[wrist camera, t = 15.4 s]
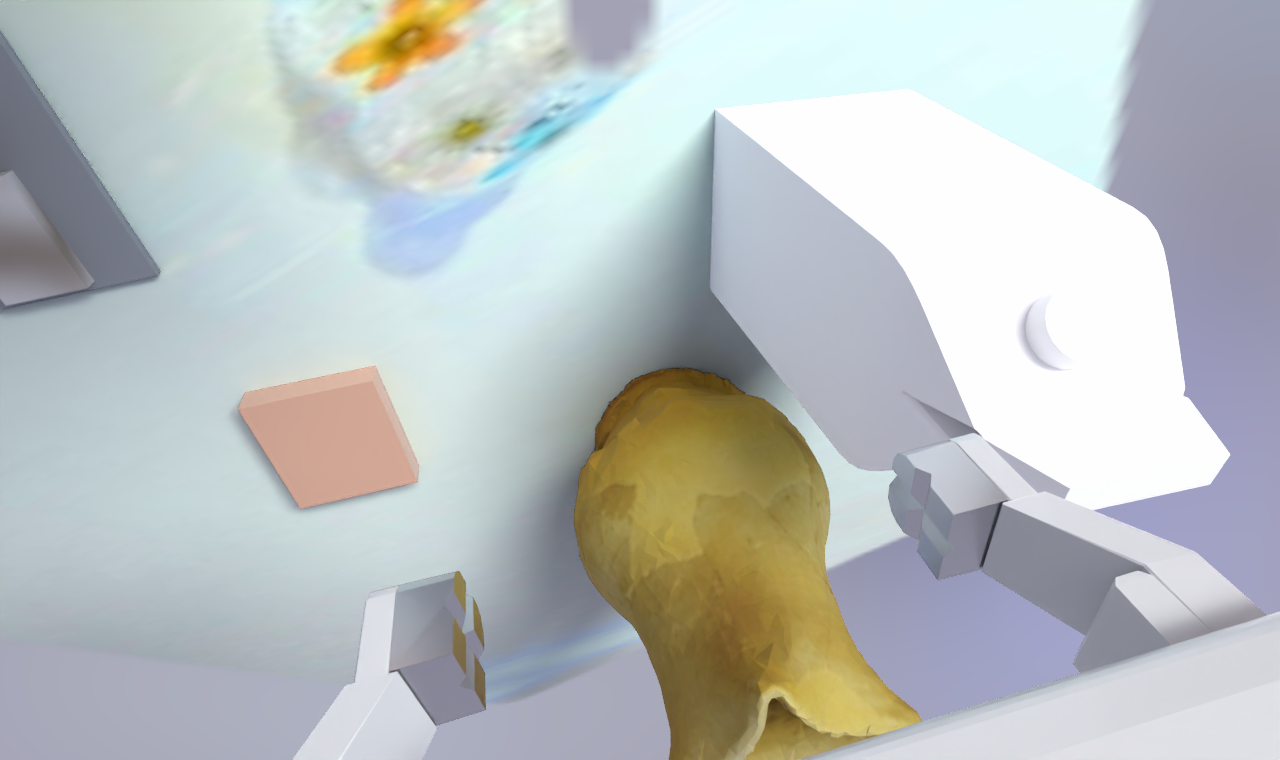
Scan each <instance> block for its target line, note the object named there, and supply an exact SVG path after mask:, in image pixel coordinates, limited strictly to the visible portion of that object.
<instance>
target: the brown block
mask: <svg viewBox="0 0 1280 760" xmlns="http://www.w3.org/2000/svg"><path fill="white" fill-rule="evenodd" d="M93 282H94V280H93V278H92V277H91V276H90V274H89V273H88V272H87V270H86V269H85V267H84V266H83V265H82V263H81V262H80V261H79V259H78V258H77V257H76V255H75V254H74V253H73V251H72V250H71V249H70V247H69V246H68V244H67V243H66V242H65V240H64V239H63V238H62V236H61V235H60V234H59V232H58V231H57V230H56V228H55V227H54V226H53V224H52V223H51V221H50V220H49V219H48V217H47V216H46V215H45V213H44V212H43V211H42V209H41V208H40V207H39V205H38V204H37V203H36V201H35V200H34V198H33V197H32V196H31V194H30V193H29V192H28V190H27V189H26V188H25V186H24V185H23V184H22V182H21V181H20V179H19V178H18V177H17V175H16V174H15V173H14V171H13V170H10V171H5V172H1V171H0V299H1V300H2V302H3V303H4V304H5V305H6V306H7V305H12V304H17V303H21V302H26V301H31V300H35V299H40V298H45V297H49V296H54V295H59V294H64V293H68V292H73V291H78V290H82V289H87V288H89V287H90V286H91V284H92V283H93Z"/></svg>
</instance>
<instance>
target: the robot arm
mask: <svg viewBox="0 0 1280 760" xmlns="http://www.w3.org/2000/svg"><path fill="white" fill-rule="evenodd" d="M892 469H893V470H894V472H895V473H896V474H897V477H896V478H895V479H894V480H893V481H892V482H891V484H890V485H889V494H888V499H889V503H890V507H891V512H892V514H893V516H894V518H895V520H896V522H897V523H898V525H899V526H900V528H901V529H902V531H903V532H904V533H905V534H907V535H909V536H911V537H914V538H915V539H917V540H918V548H917V552H918V554H919V555H920V556H921V558H922V559H923V561H924V562H925V563H926V565H927V566H928V568H929V569H930V570H931V572H932V573H933V574H934V576H935V577H936V579H937V580H941V579H946V578H949V577H953V576H957V575H961V574H965V573H969V572H973V571H977V570H981V569H982V572H983V573H985V574H986V575H988V576H989V577H991V578H993V579H995V580H996V581H997V582H999V583H1001V584H1002V585H1004V586H1006V587H1007V588H1009V589H1010V590H1012V591H1014V592H1015V593H1017V594H1018V595H1020V596H1022V597H1023V598H1025V599H1027V600H1028V601H1030V602H1032V603H1033V604H1035V605H1036V606H1038V607H1040V608H1041V609H1043V610H1044V611H1046V612H1048V613H1049V614H1051V615H1053V616H1054V617H1056V618H1058V619H1059V620H1061V621H1062V622H1064V623H1066V624H1067V625H1069V626H1070V627H1072V628H1074V629H1075V630H1077V631H1079V632H1080V633H1082V634H1083V635H1085V638H1084V640H1083V642H1082V644H1081V645H1080V647H1079V649H1078V651H1077V653H1076V655H1075V659H1074V663H1073V664H1074V665H1075V667H1076V668H1077V669H1078V671H1079V672H1080V673H1079V674H1076V675H1073V676H1069V677H1066V678H1063V679H1059V680H1056V681H1053V682H1049V683H1046V684H1043V685H1040V686H1036V687H1033V688H1030V689H1027V690H1024V691H1020V692H1017V693H1014V694H1011V695H1007V696H1004V697H1001V698H997V699H994V700H991V701H988V702H984V703H981V704H978V705H975V706H971V707H968V708H965V709H962V710H958V711H955V712H952V713H949V714H945V715H942V716H939V717H936V718H932V719H929V720H926V721H922V722H919V723H916V724H913V725H909V726H906V727H903V728H900V729H896V730H893V731H890V732H887V733H883V734H880V735H877V736H874V737H870V738H867V739H864V740H861V741H857V742H854V743H851V744H848V745H844V746H841V747H838V748H835V749H831V750H828V751H825V752H822V753H818V754H815V755H812V756H809V757H805V758H802V759H799V760H1280V612H1277V613H1274V614H1271V615H1266V614H1265V613H1264V612H1263V611H1262V610H1261V609H1260V608H1258V607H1257V606H1256V605H1255V604H1254V603H1253V602H1252V601H1250V600H1249V599H1248V598H1247V597H1246V596H1245V595H1243V593H1241V592H1240V591H1239V590H1238V589H1237V588H1236V587H1234V586H1233V585H1232V584H1231V583H1230V582H1229V581H1228V580H1227V579H1226V578H1224V577H1223V576H1222V575H1221V574H1220V573H1219V572H1218V571H1216V570H1215V569H1214V568H1213V567H1212V566H1211V565H1210V564H1209V563H1207V562H1206V561H1205V560H1204V559H1203V558H1202V557H1201V556H1199V555H1198V554H1197V553H1196V552H1194V551H1192V550H1189V549H1187V548H1184V547H1182V546H1179V545H1177V544H1174V543H1172V542H1169V541H1167V540H1165V539H1162V538H1160V537H1157V536H1155V535H1152V534H1149V533H1147V532H1145V531H1142V530H1140V529H1137V528H1135V527H1132V526H1130V525H1127V524H1125V523H1122V522H1120V521H1117V520H1115V519H1112V518H1110V517H1108V516H1105V515H1103V514H1100V513H1097V512H1095V511H1093V510H1090V509H1088V508H1085V507H1083V506H1080V505H1078V504H1075V503H1073V502H1070V501H1068V500H1065V499H1063V498H1060V497H1058V496H1055V495H1053V494H1051V493H1048V492H1046V491H1044V492H1040V493H1037V492H1036V491H1035V490H1034V489H1033V488H1032V487H1031V486H1030V485H1029V484H1028V483H1027V482H1026V481H1025V480H1024V479H1023V478H1022V477H1021V476H1020V475H1019V474H1018V473H1017V472H1016V471H1015V470H1014V469H1013V468H1012V467H1011V466H1010V465H1009V464H1008V463H1007V462H1006V461H1005V460H1004V459H1003V458H1002V457H1001V456H1000V455H999V454H998V453H997V452H996V451H995V450H994V449H993V448H992V447H991V446H990V445H989V444H988V443H987V442H986V441H985V440H984V439H983V438H982V437H981V436H980V435H977V434H975V433H971V434H968V435H964V436H960V437H956V438H953V439H949V440H947V441H946V440H943V441H940V442H936V443H932V444H929V445H925V446H922V447H918V448H915V449H911V450H907V451H904V452H900V453H897V455H896V456H895V457H894V458H893V464H892ZM483 650H484V637H483V629H482V623H481V617H480V614H479V610H478V607H477V605H476V603H475V600H474V598H473V597H471V596H469V595H466V583H465V580H464V579H463V577H462V575H461V573H460V572H459V571H456V572H452V573H448V574H443V575H439V576H435V577H431V578H427V579H422V580H418V581H414V582H410V583H406V584H401V585H398V586H394V587H390V588H386V589H382V590H378V591H374V592H370V594H369V596H368V598H367V600H366V602H365V608H364V615H363V622H362V629H361V636H360V643H359V651H358V658H357V665H356V672H355V679H354V683H351V684H348V685H345V686H344V688H343V689H342V690H341V692H340V693H339V695H338V696H337V697H336V699H335V700H334V702H333V703H332V704H331V706H330V707H329V709H328V710H327V712H326V713H325V714H324V716H323V717H322V719H321V720H320V721H319V723H318V724H317V725H316V727H315V728H314V730H313V731H312V733H311V734H310V735H309V737H308V738H307V739H306V741H305V742H304V744H303V745H302V746H301V748H300V749H299V751H298V752H297V754H296V755H295V756H294V758H293V759H292V760H422V759H423V757H424V755H425V753H426V751H427V749H428V747H429V745H430V743H431V741H432V738H433V736H434V734H435V732H436V730H437V727H436V725H440V724H443V723H446V722H449V721H452V720H456V719H459V718H462V717H465V716H468V715H471V714H474V713H478V712H481V711H484V710H486V703H485V673H484V671H483V669H482V667H481V665H480V663H479V661H478V659H479V657H480V655H481V654H482V652H483Z"/></svg>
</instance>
